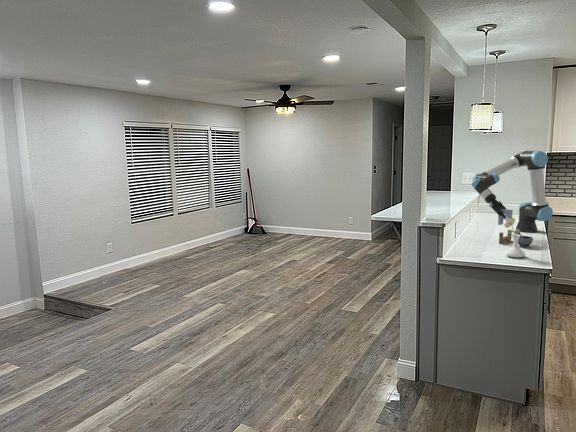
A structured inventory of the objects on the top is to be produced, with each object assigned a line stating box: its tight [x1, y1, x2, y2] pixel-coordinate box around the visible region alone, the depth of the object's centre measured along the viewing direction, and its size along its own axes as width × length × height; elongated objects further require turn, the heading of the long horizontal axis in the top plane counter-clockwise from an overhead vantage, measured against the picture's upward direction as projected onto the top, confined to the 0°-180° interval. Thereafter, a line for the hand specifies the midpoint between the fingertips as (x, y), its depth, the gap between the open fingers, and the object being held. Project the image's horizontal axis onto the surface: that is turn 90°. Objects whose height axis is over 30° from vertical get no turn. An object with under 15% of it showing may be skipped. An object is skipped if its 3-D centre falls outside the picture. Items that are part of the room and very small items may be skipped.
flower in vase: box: [503, 217, 526, 258], centre depth 272 cm, size 13×11×25 cm
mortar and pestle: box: [514, 229, 534, 249], centre depth 297 cm, size 11×9×12 cm
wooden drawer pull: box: [498, 229, 513, 245], centre depth 312 cm, size 15×2×8 cm, turn 129°
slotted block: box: [497, 208, 513, 226], centre depth 311 cm, size 4×8×11 cm, turn 39°
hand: (510, 220), depth 308 cm, fingers closed on slotted block, 4 cm apart
